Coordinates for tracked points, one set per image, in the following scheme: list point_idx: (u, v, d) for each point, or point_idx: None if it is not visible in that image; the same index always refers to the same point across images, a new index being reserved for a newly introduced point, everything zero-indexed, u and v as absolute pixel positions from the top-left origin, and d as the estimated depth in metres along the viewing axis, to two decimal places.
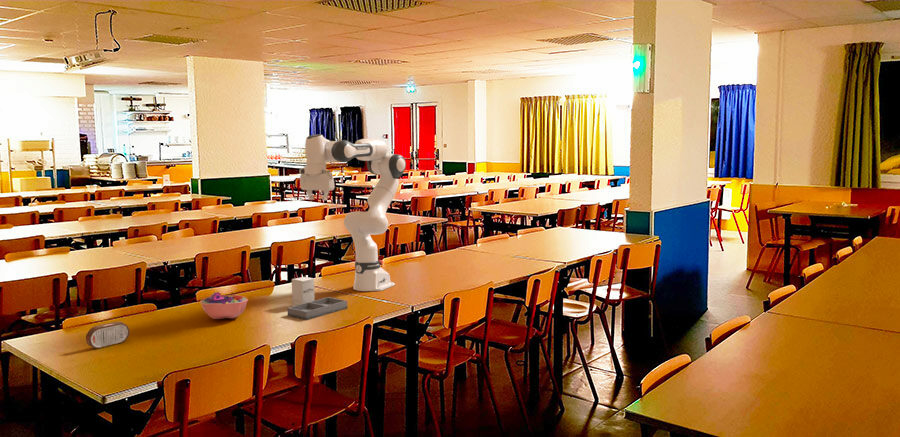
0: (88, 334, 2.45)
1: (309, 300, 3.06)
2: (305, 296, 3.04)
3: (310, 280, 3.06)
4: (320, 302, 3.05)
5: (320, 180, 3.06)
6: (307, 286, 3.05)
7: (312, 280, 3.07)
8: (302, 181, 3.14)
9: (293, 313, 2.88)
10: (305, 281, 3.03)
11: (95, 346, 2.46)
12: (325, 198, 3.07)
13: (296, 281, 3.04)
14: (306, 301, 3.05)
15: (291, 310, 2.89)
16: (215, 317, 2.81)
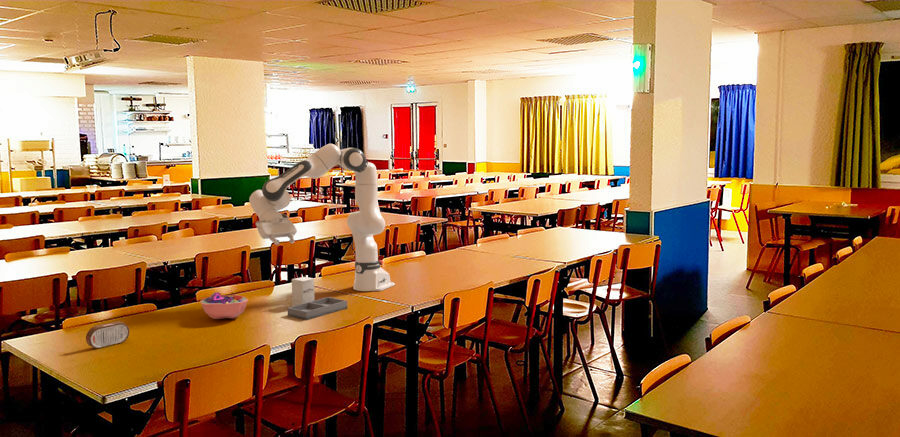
0: (88, 334, 2.45)
1: (309, 300, 3.06)
2: (305, 296, 3.04)
3: (310, 280, 3.06)
4: (320, 302, 3.05)
5: None
6: (307, 286, 3.05)
7: (312, 280, 3.07)
8: None
9: (293, 313, 2.88)
10: (305, 281, 3.03)
11: (95, 346, 2.46)
12: (275, 243, 3.07)
13: (296, 281, 3.04)
14: (306, 301, 3.05)
15: (291, 310, 2.89)
16: (215, 317, 2.81)
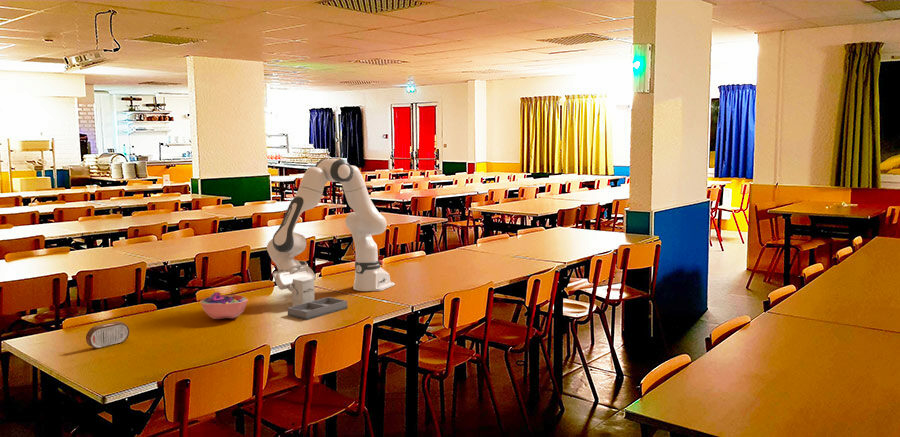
0: (88, 334, 2.45)
1: (309, 300, 3.06)
2: (305, 296, 3.04)
3: (310, 280, 3.06)
4: (320, 302, 3.05)
5: None
6: (307, 286, 3.05)
7: (312, 280, 3.07)
8: None
9: (293, 313, 2.88)
10: (305, 281, 3.03)
11: (95, 346, 2.46)
12: (294, 293, 3.03)
13: (296, 281, 3.04)
14: (306, 301, 3.05)
15: (291, 310, 2.89)
16: (215, 317, 2.81)
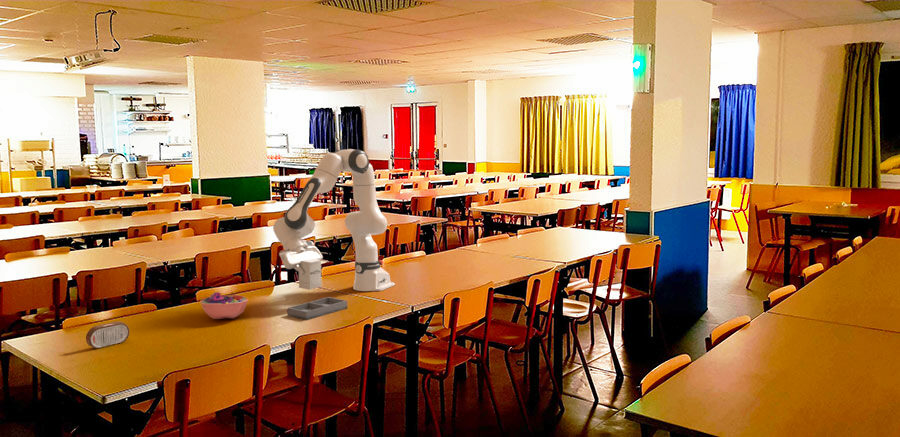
0: (88, 334, 2.45)
1: (316, 282, 3.03)
2: (312, 277, 3.01)
3: (317, 262, 3.03)
4: (320, 302, 3.05)
5: None
6: (314, 267, 3.02)
7: (319, 262, 3.04)
8: None
9: (293, 313, 2.88)
10: (312, 262, 3.00)
11: (95, 346, 2.46)
12: (301, 272, 3.00)
13: (303, 262, 3.01)
14: (313, 283, 3.02)
15: (291, 310, 2.89)
16: (215, 317, 2.81)
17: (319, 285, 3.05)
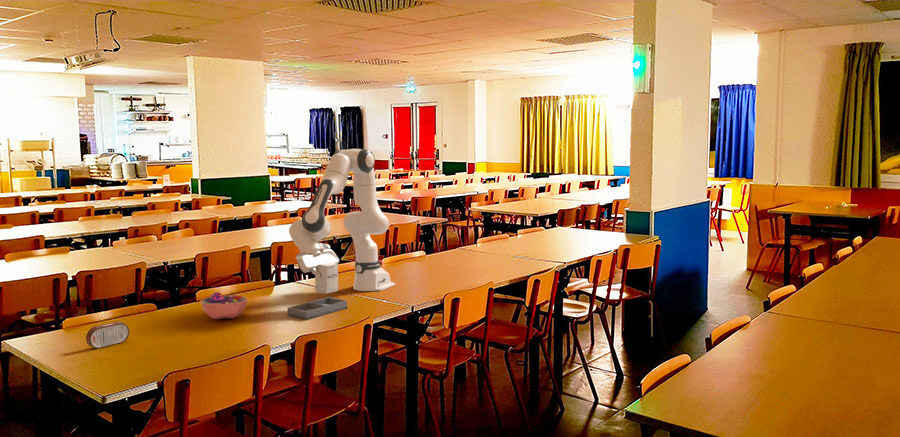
0: (88, 334, 2.45)
1: (333, 286, 2.98)
2: (329, 281, 2.96)
3: (334, 265, 2.98)
4: (320, 302, 3.05)
5: None
6: (331, 271, 2.97)
7: (336, 265, 2.99)
8: None
9: (293, 313, 2.88)
10: (329, 266, 2.95)
11: (95, 346, 2.46)
12: (317, 276, 2.95)
13: (320, 266, 2.96)
14: (330, 287, 2.97)
15: (291, 310, 2.89)
16: (215, 317, 2.81)
17: (336, 289, 3.00)
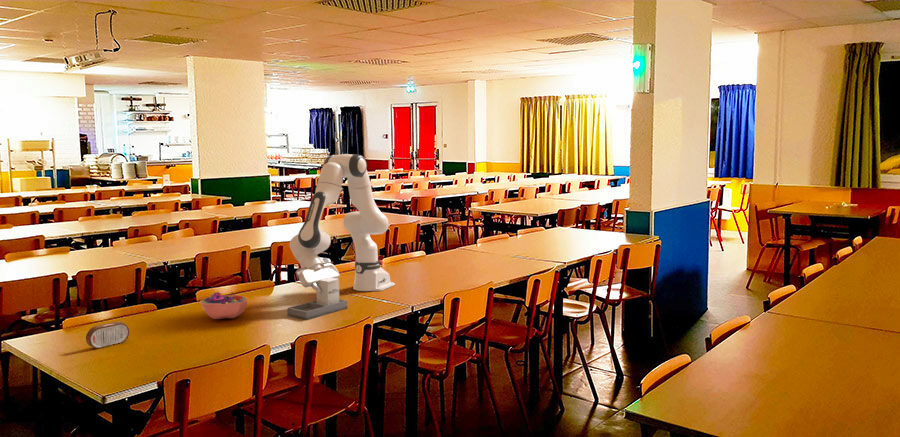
0: (88, 334, 2.45)
1: (334, 301, 2.99)
2: (330, 297, 2.97)
3: (335, 281, 2.99)
4: None
5: None
6: (332, 286, 2.98)
7: (337, 281, 3.00)
8: None
9: (293, 313, 2.88)
10: (330, 282, 2.97)
11: (95, 346, 2.46)
12: (317, 291, 2.96)
13: (321, 282, 2.97)
14: (331, 302, 2.98)
15: (291, 310, 2.89)
16: (215, 317, 2.81)
17: None
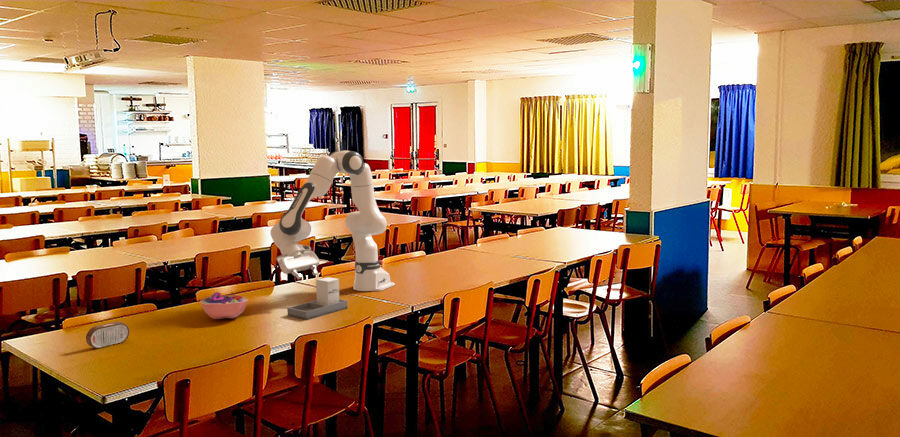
0: (88, 334, 2.45)
1: (334, 301, 2.99)
2: (330, 297, 2.97)
3: (335, 281, 2.99)
4: None
5: None
6: (332, 286, 2.98)
7: (337, 281, 3.00)
8: None
9: (293, 313, 2.88)
10: (330, 282, 2.97)
11: (95, 346, 2.46)
12: (297, 277, 3.04)
13: (321, 282, 2.97)
14: (331, 302, 2.98)
15: (291, 310, 2.89)
16: (215, 317, 2.81)
17: None
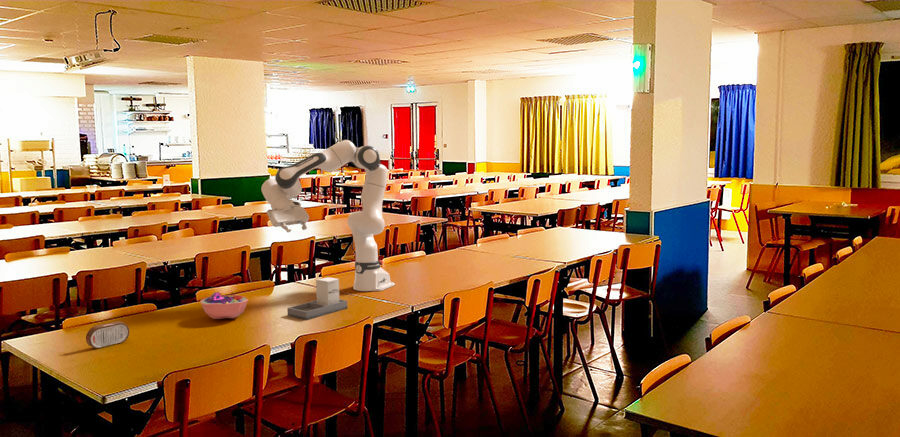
0: (88, 334, 2.45)
1: (334, 301, 2.99)
2: (330, 297, 2.97)
3: (335, 281, 2.99)
4: None
5: None
6: (332, 286, 2.98)
7: (337, 281, 3.00)
8: None
9: (293, 313, 2.88)
10: (330, 282, 2.97)
11: (95, 346, 2.46)
12: (287, 230, 3.11)
13: (321, 282, 2.97)
14: (331, 302, 2.98)
15: (291, 310, 2.89)
16: (215, 317, 2.81)
17: None
